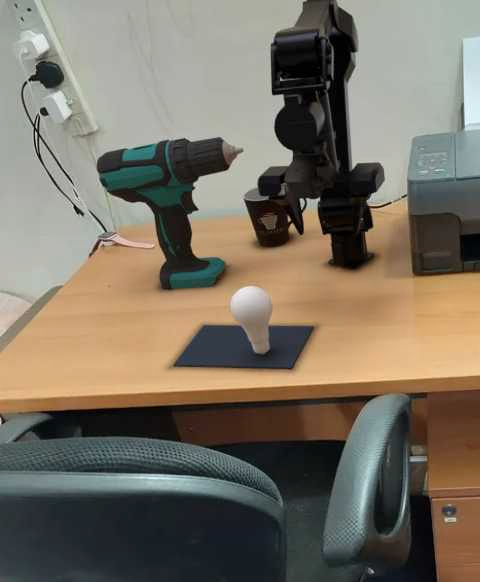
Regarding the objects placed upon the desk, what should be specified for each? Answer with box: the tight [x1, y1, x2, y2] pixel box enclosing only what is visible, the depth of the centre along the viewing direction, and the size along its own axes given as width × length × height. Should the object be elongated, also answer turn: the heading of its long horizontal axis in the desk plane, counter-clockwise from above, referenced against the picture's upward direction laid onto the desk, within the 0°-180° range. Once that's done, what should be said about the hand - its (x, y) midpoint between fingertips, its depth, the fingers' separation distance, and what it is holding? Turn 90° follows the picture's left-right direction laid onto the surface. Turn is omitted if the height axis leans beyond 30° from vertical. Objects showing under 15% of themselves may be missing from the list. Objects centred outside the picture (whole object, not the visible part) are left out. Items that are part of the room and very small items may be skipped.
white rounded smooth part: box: [229, 285, 273, 354], centre depth 99 cm, size 6×6×11 cm
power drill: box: [96, 136, 244, 291], centre depth 120 cm, size 26×9×25 cm, turn 84°
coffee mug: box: [242, 186, 308, 248], centre depth 134 cm, size 12×9×10 cm
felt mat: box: [173, 324, 314, 370], centre depth 105 cm, size 20×12×1 cm, turn 77°
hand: (328, 234), depth 105 cm, fingers open, 9 cm apart
